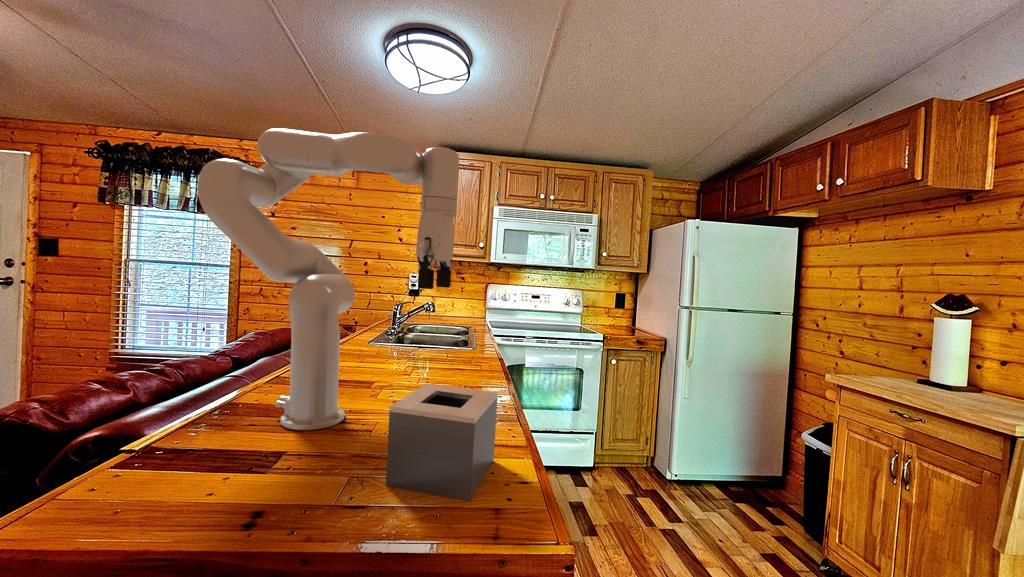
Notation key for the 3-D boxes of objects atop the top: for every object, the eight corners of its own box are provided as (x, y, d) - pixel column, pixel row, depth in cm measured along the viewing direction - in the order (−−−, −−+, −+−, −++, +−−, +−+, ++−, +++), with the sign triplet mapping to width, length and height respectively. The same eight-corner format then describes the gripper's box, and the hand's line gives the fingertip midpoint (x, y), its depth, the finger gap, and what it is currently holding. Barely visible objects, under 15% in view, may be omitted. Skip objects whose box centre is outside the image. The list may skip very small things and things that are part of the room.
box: (385, 485, 66) (389, 406, 66) (422, 449, 80) (426, 383, 79) (470, 501, 64) (475, 418, 63) (493, 460, 77) (497, 392, 77)
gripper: (438, 213, 99) (434, 285, 100) (404, 201, 82) (400, 288, 83) (468, 214, 98) (464, 287, 98) (440, 202, 81) (435, 290, 81)
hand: (434, 287), depth 91 cm, fingers open, 9 cm apart
